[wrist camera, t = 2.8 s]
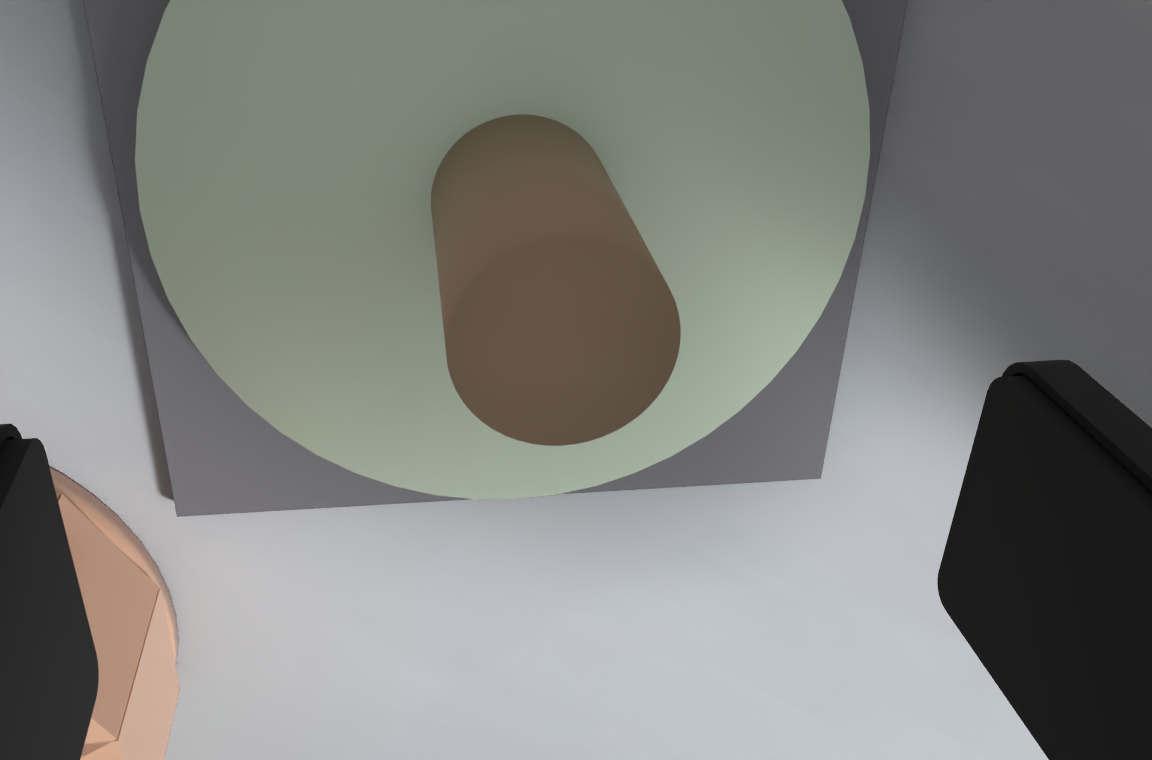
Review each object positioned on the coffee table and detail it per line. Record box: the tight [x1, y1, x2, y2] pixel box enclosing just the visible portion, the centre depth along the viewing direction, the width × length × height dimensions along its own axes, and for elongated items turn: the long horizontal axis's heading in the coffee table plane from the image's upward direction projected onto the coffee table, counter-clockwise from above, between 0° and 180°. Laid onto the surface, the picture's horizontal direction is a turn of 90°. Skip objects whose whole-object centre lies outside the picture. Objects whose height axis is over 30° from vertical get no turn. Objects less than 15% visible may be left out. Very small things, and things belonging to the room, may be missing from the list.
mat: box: [83, 0, 907, 517], centre depth 20 cm, size 14×14×1 cm
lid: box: [135, 0, 870, 499], centre depth 17 cm, size 13×13×6 cm
